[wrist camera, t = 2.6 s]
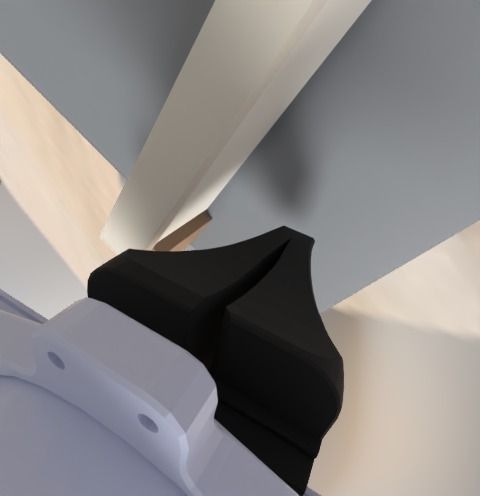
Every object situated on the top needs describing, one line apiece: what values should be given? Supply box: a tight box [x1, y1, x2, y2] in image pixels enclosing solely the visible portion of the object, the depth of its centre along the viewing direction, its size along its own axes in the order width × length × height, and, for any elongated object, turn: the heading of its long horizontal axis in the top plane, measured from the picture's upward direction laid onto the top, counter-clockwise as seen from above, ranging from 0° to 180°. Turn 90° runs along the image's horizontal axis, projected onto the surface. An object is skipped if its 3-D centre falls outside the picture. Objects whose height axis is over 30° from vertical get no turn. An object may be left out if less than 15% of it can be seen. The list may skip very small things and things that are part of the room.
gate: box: [99, 0, 371, 255], centre depth 9 cm, size 14×2×5 cm, turn 141°
